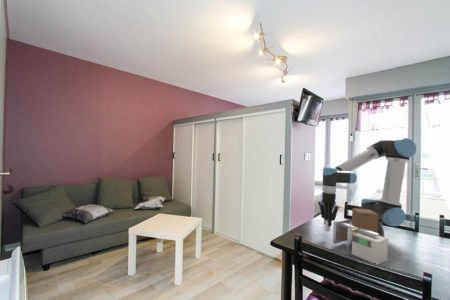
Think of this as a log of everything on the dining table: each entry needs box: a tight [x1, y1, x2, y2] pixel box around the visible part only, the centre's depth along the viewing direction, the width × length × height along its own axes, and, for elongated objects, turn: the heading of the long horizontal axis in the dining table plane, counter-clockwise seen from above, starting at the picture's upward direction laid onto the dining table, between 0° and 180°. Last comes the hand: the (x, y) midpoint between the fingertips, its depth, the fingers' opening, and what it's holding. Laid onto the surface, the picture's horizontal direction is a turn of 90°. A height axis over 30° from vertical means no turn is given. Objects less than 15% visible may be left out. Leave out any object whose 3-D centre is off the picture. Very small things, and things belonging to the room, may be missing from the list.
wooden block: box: [351, 207, 378, 233], centre depth 122 cm, size 10×10×20 cm
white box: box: [351, 231, 389, 265], centre depth 108 cm, size 10×12×11 cm
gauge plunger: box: [332, 218, 379, 245], centre depth 113 cm, size 13×20×12 cm, turn 30°
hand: (327, 230), depth 128 cm, fingers closed
